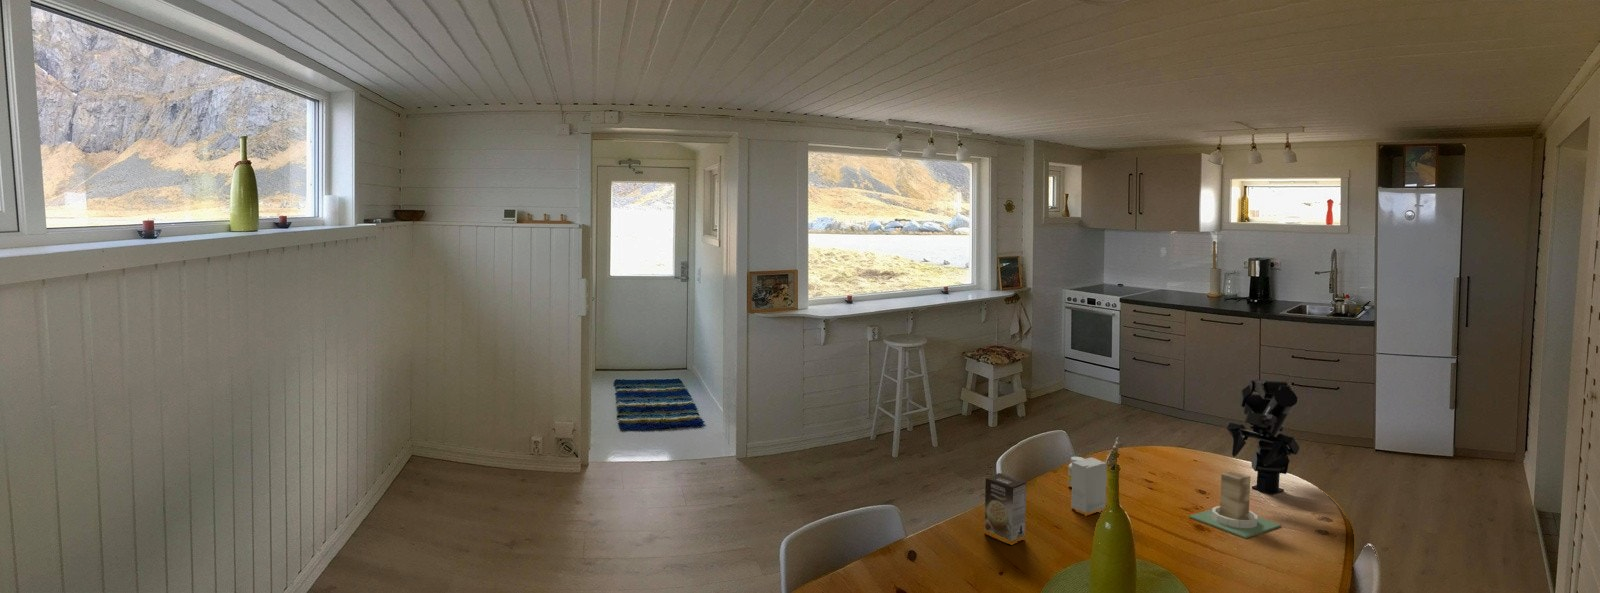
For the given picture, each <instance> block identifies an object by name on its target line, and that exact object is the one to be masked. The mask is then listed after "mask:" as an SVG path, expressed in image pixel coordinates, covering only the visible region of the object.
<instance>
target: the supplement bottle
mask: <svg viewBox="0 0 1600 593" xmlns="http://www.w3.org/2000/svg"><path fill="white" fill-rule="evenodd" d="M1084 459H1085V458H1084V457H1081V456H1071V457H1070V463H1069V464H1068V468H1067V469H1068V470H1067V485H1068V484H1069V485H1071V486H1072V462H1076V461H1080V460H1084Z"/></svg>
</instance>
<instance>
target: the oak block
mask: <svg viewBox="0 0 1600 593" xmlns="http://www.w3.org/2000/svg"><path fill="white" fill-rule="evenodd" d="M1220 476H1221V477H1220V478H1221V479H1220V480H1221V481H1220V502H1219V503H1220V504H1219V506H1220V515H1222V516H1224V517H1227V518H1231V519H1237V520H1249V511H1250V497H1251V496H1250V494H1251V493H1250V492H1251V478H1252V477H1251V475H1249V474H1245V473H1241V472H1238V471H1236V470H1231V471H1226V472H1223V473H1221V475H1220Z"/></svg>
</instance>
